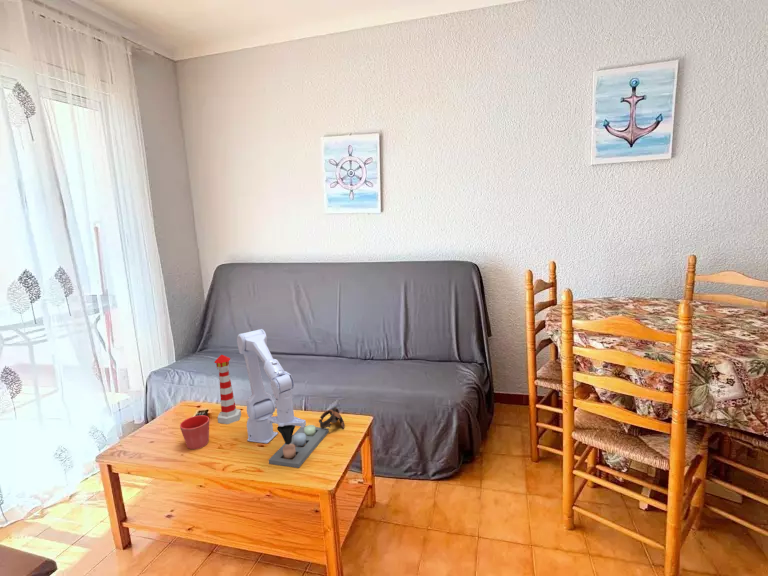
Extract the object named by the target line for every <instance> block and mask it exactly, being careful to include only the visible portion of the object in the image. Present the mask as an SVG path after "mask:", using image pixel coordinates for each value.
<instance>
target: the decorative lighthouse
mask: <svg viewBox="0 0 768 576" xmlns="http://www.w3.org/2000/svg"><path fill="white" fill-rule="evenodd" d="M230 360H231V358H230V357H229V356H227V355H223V354H221V355H219V356H218V357H217V358H216V359H215V361H214V362H213V363H215V364H216V370H218V375H219V376H218V379H219V390H220V391H219V392H220V393H219V394H220V408H221V409H220V412H219V413H218V416H217V418H216V419H217V423H218V424H223V425H224V424H225V425H230V424H233V423H236V422H238V421H240V419H241V416H242V410H241V409H239V408H237V405H236V401H235V396H234V392H233V386H232V381H231V376H230V371H229V367H230Z"/></svg>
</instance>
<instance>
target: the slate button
mask: <svg viewBox="0 0 768 576" xmlns="http://www.w3.org/2000/svg"><path fill="white" fill-rule="evenodd" d="M294 444H295V447H304V446H305V445H306V435H305V433H297V434H295V435H294Z"/></svg>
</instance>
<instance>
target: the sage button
mask: <svg viewBox="0 0 768 576" xmlns="http://www.w3.org/2000/svg"><path fill="white" fill-rule="evenodd" d="M305 426H306V427H305V428H304V433H305V435H306V436H314V435H315V434H316V430H315V427H316V426H315V425H314V424H308V425H305Z"/></svg>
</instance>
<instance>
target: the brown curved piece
mask: <svg viewBox="0 0 768 576" xmlns="http://www.w3.org/2000/svg"><path fill="white" fill-rule="evenodd" d="M328 415H330V416H329V417H328V419H326V420H325V421H324V418H326V416H328ZM337 422H339V423H340V426H341V428H342V430H343V429H345V422H344V419H343V417H342V415H341V414H340V411H339V409H338V408H337V407H333V408H332V409H328V410H326V411H324V412H323V413H322V415H321V416H320V417H319V420H318V423H319V427H320V428H331V424H335V423H337Z"/></svg>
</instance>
